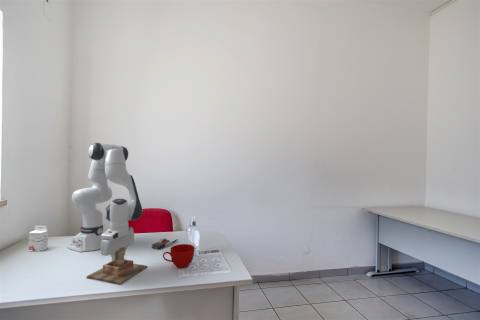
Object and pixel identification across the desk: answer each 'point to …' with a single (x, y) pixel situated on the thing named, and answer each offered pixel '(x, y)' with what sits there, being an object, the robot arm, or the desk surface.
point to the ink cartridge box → (38, 238)
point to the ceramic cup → (181, 255)
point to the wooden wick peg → (119, 258)
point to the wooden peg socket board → (117, 272)
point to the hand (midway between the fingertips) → (118, 257)
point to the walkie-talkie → (162, 243)
